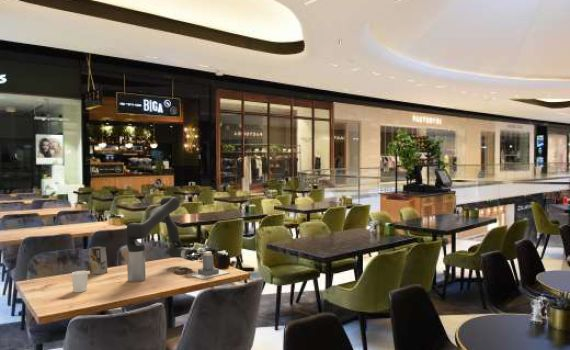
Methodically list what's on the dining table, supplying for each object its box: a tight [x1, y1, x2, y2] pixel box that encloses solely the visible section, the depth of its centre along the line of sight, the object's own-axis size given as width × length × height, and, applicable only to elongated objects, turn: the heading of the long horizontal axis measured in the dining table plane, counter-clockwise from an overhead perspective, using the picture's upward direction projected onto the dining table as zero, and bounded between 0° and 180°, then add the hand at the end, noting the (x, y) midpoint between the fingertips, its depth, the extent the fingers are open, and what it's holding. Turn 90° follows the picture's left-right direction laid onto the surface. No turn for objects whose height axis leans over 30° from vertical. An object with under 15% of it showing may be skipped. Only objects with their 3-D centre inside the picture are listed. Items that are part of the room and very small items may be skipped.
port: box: [186, 267, 231, 280], centre depth 284 cm, size 20×16×3 cm
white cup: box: [71, 270, 88, 293], centre depth 253 cm, size 8×8×10 cm
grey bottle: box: [202, 251, 215, 271], centre depth 284 cm, size 4×4×13 cm
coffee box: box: [88, 246, 108, 275], centre depth 294 cm, size 9×6×16 cm
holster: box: [173, 266, 193, 275], centre depth 290 cm, size 8×8×2 cm
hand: (203, 257), depth 287 cm, fingers open, 8 cm apart
